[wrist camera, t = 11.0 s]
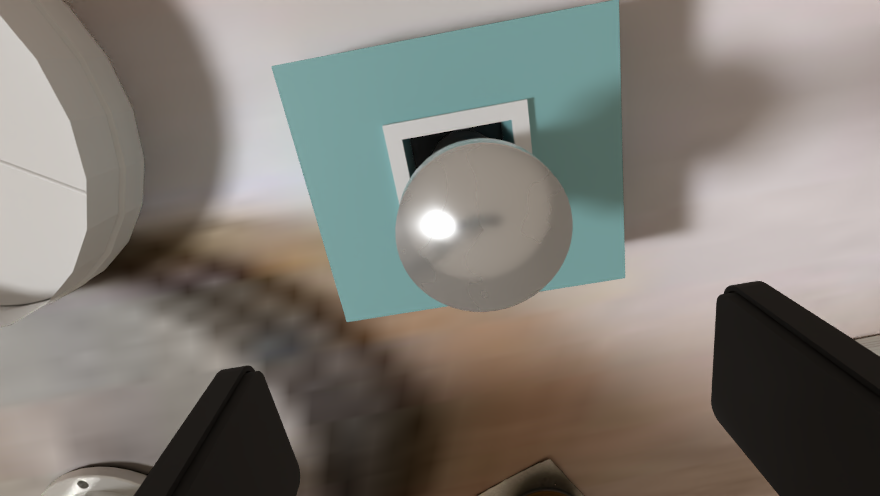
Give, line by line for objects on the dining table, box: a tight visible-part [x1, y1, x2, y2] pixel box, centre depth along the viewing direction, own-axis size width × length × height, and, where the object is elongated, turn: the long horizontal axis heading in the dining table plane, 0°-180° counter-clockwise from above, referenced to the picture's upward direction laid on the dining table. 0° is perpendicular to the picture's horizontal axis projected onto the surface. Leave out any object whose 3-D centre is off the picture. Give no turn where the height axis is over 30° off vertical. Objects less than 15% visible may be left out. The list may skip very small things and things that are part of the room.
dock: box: [271, 0, 625, 322], centre depth 25 cm, size 14×16×5 cm
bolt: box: [395, 130, 573, 312], centre depth 22 cm, size 6×6×12 cm
